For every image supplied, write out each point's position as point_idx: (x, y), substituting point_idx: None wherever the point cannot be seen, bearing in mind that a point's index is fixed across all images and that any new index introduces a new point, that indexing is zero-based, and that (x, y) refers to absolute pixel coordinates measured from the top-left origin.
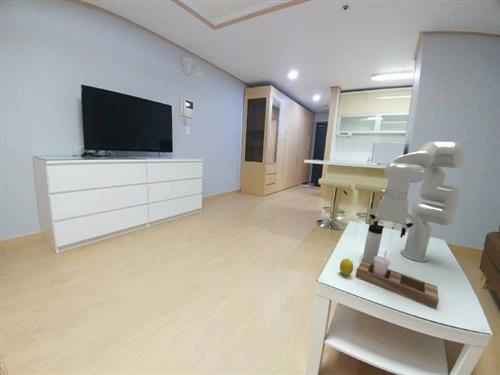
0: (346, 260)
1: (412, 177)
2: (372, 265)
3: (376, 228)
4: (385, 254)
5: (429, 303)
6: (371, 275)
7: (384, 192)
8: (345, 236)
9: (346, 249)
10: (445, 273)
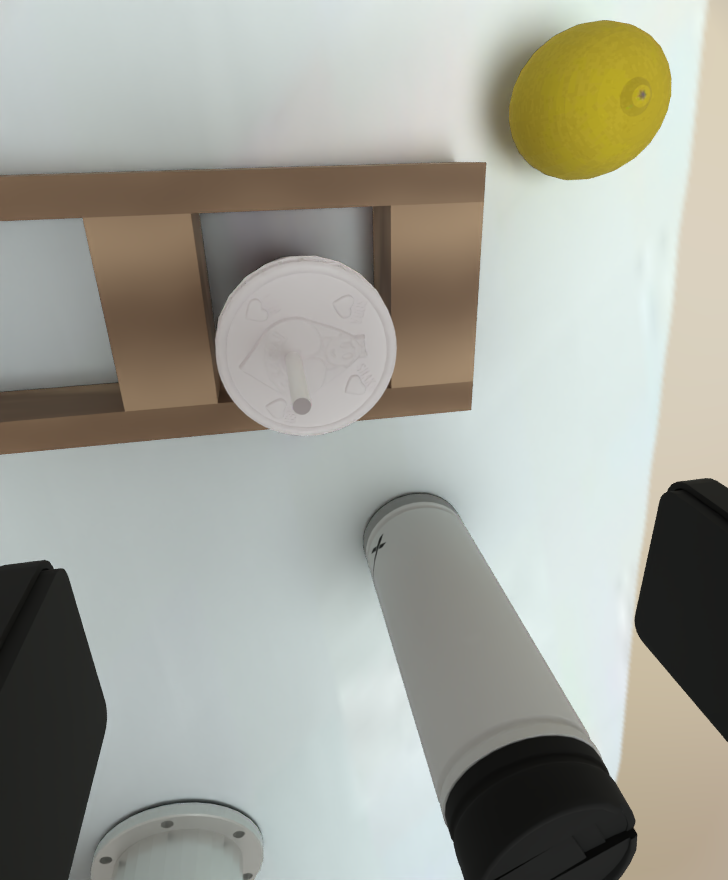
0: (645, 66)
1: None
2: None
3: (679, 570)
4: (293, 379)
5: None
6: (342, 167)
7: None
8: (617, 756)
9: (587, 578)
10: None
